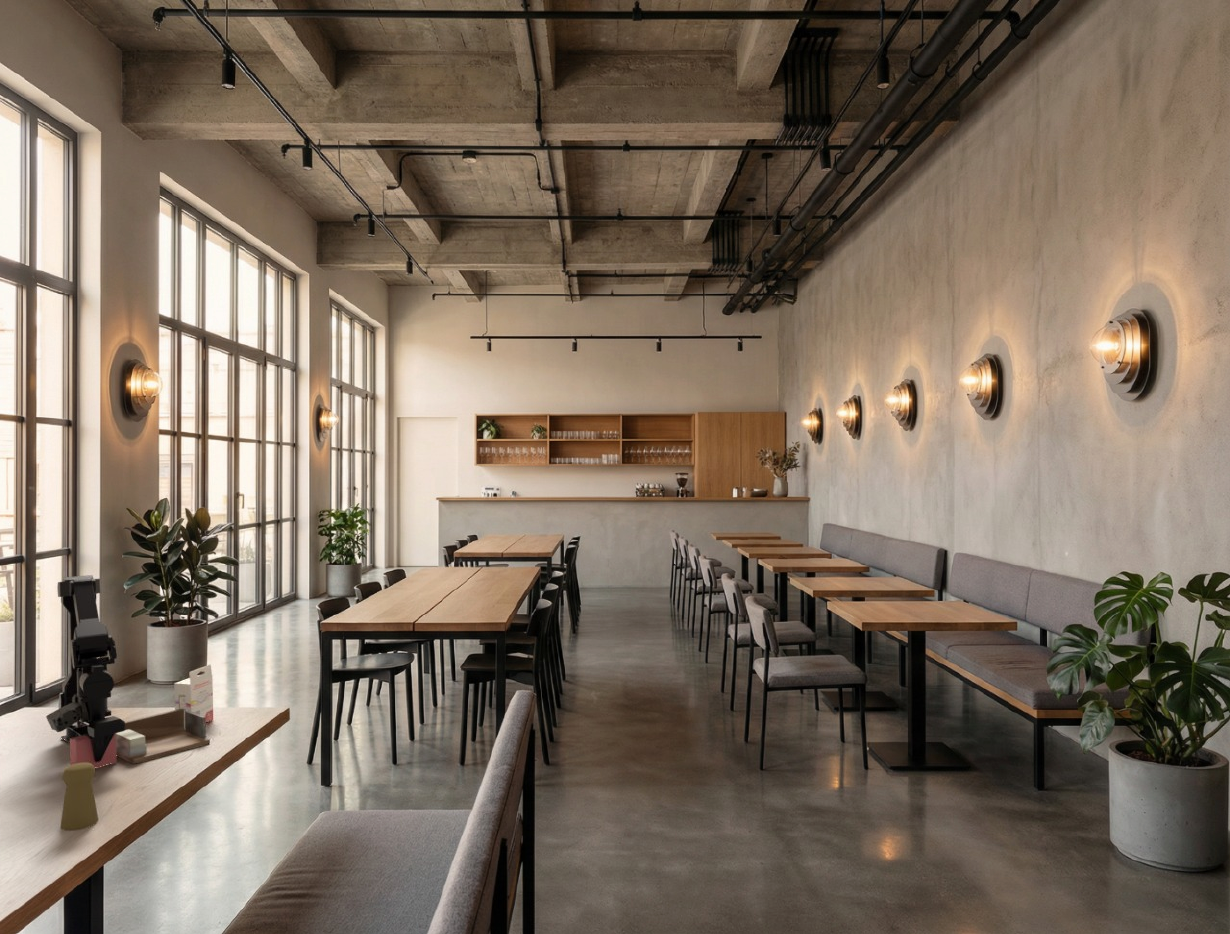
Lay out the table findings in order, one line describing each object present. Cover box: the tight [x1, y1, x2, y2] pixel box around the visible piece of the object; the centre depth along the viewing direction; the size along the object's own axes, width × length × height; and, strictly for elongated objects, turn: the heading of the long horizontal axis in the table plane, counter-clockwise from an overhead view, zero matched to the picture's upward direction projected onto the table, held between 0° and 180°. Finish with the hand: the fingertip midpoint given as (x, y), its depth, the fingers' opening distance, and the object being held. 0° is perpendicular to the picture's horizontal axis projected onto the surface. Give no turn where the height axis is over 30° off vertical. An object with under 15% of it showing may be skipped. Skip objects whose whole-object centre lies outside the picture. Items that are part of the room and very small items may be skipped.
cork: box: [60, 762, 99, 831], centre depth 159 cm, size 6×6×11 cm
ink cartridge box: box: [173, 664, 214, 729], centre depth 219 cm, size 9×5×15 cm, turn 168°
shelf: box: [116, 709, 211, 764], centre depth 201 cm, size 14×17×6 cm
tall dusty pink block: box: [69, 733, 117, 768], centre depth 189 cm, size 4×8×7 cm, turn 142°
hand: (93, 759), depth 189 cm, fingers open, 4 cm apart
